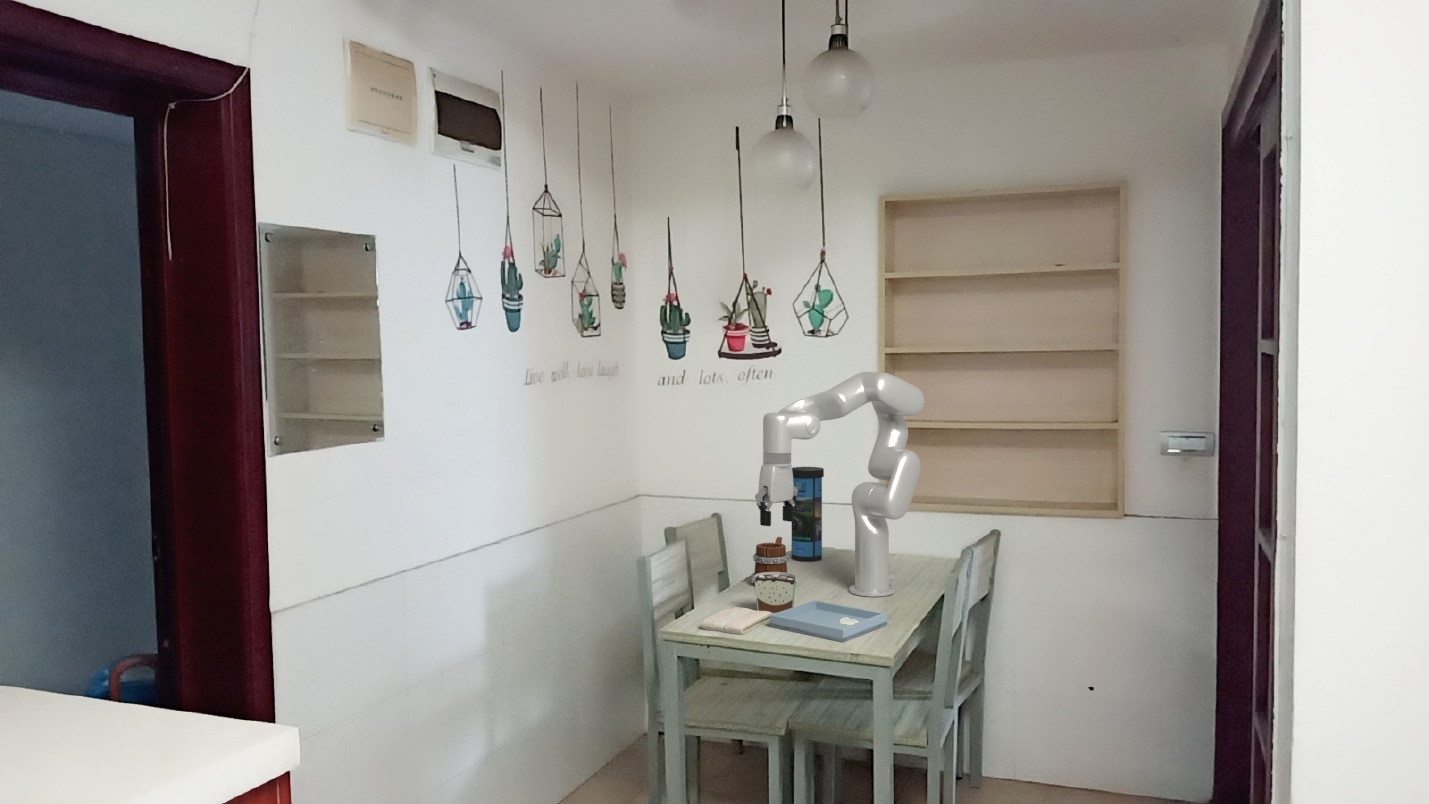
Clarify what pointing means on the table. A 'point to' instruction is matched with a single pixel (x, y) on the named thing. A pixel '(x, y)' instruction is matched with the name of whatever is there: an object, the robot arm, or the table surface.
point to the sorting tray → (828, 620)
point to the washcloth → (736, 620)
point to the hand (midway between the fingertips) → (776, 523)
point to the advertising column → (807, 514)
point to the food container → (775, 591)
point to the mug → (770, 557)
